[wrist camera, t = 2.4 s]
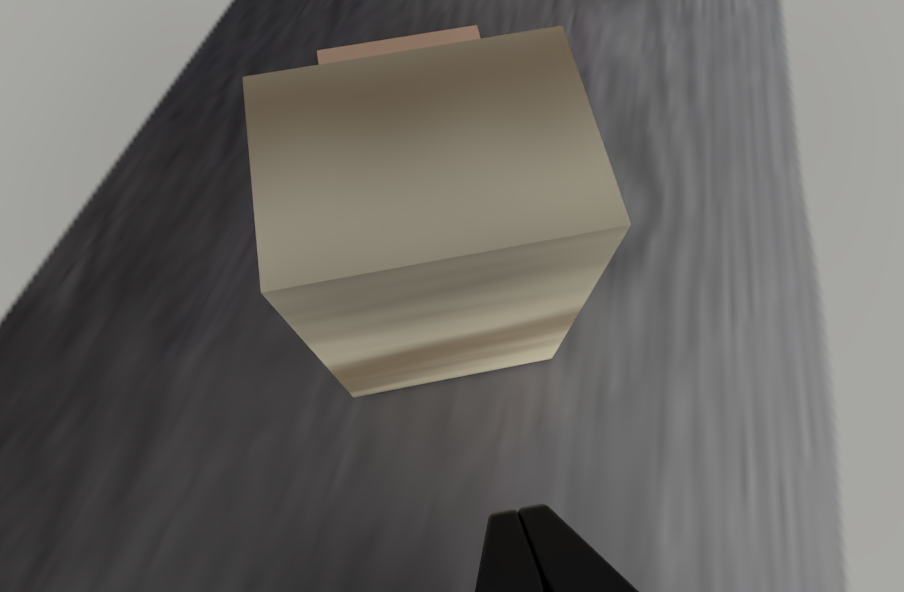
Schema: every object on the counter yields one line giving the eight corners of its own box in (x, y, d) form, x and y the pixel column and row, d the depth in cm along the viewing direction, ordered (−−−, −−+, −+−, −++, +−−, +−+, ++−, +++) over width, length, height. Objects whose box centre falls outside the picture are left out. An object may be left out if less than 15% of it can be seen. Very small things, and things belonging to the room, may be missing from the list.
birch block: (551, 358, 20) (631, 224, 11) (353, 397, 20) (260, 292, 11) (518, 233, 22) (562, 25, 13) (335, 266, 22) (242, 76, 12)
